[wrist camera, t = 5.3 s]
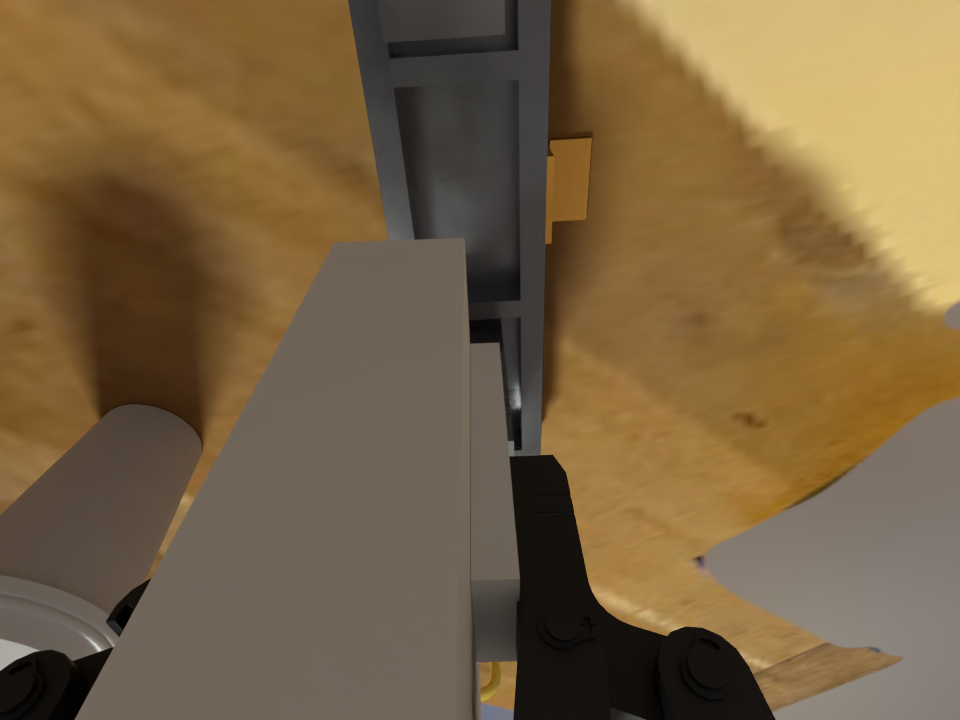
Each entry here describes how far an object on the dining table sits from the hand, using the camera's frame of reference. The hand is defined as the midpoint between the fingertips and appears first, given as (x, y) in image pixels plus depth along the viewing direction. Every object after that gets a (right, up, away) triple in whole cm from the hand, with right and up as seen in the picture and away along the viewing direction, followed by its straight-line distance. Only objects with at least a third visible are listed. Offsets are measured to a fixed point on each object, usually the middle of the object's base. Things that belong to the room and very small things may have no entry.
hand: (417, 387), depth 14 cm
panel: (0, 0, 0) cm, 0 cm away
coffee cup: (-21, -5, +22) cm, 31 cm away
